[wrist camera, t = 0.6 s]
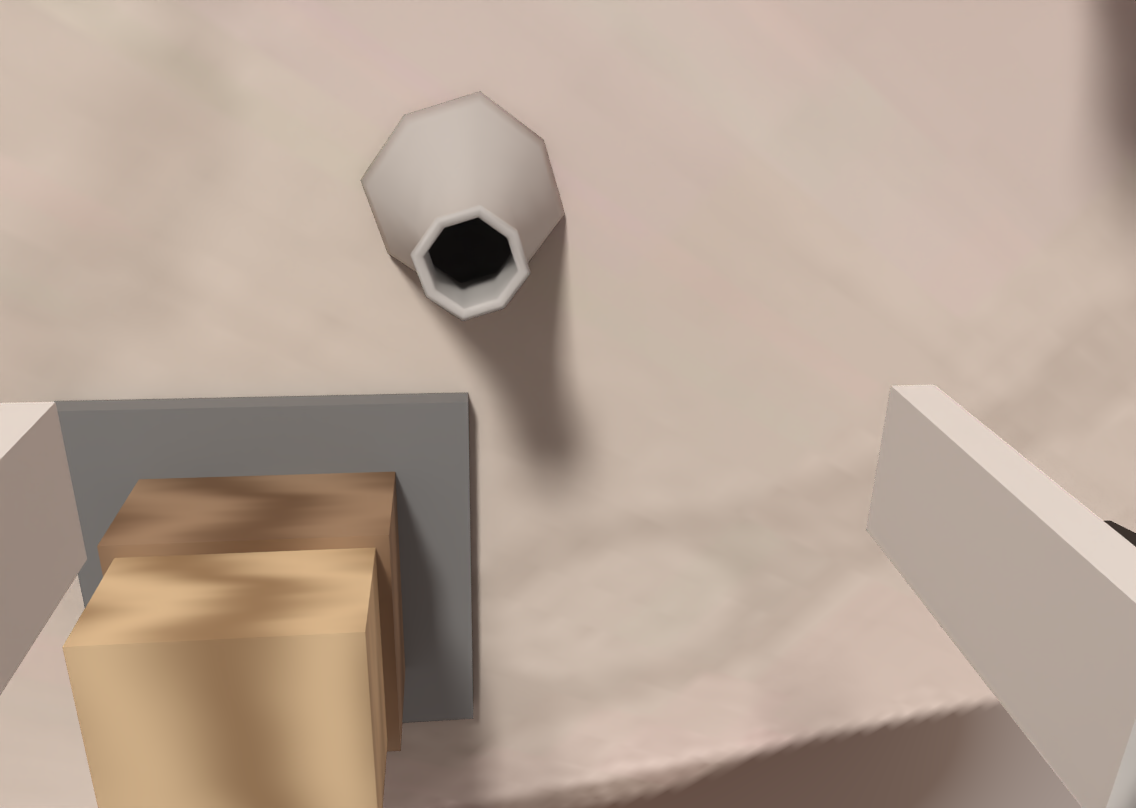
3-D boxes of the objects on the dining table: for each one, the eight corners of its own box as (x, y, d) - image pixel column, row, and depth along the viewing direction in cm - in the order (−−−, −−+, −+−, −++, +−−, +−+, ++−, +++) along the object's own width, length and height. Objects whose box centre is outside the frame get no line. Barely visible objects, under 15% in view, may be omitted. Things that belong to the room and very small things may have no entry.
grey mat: (119, 725, 43) (112, 740, 43) (54, 401, 37) (44, 411, 36) (472, 703, 45) (473, 718, 44) (467, 392, 39) (468, 402, 38)
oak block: (151, 756, 37) (110, 863, 32) (114, 558, 33) (62, 647, 29) (387, 741, 38) (379, 843, 34) (375, 547, 35) (365, 632, 30)
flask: (596, 217, 37) (646, 291, 28) (445, 323, 38) (446, 428, 29) (485, 53, 34) (499, 76, 25) (325, 173, 35) (284, 236, 26)
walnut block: (173, 682, 42) (140, 767, 37) (139, 479, 38) (96, 546, 33) (405, 670, 43) (400, 750, 38) (395, 471, 39) (388, 535, 34)
